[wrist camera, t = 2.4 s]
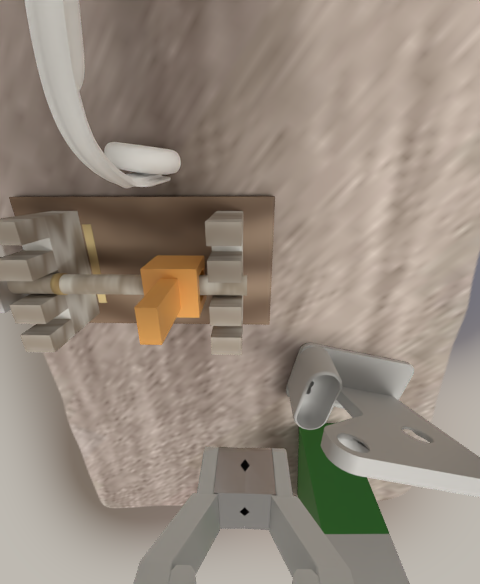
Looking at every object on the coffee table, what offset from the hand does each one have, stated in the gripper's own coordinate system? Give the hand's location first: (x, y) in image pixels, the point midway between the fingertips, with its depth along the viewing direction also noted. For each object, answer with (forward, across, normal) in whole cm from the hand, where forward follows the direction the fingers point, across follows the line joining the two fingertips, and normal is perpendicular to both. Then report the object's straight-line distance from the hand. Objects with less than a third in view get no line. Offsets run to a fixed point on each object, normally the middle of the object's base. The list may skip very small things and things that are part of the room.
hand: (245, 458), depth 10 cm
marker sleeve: (+21, +7, 0) cm, 22 cm away
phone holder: (+26, -15, +18) cm, 35 cm away
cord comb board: (+26, +12, 0) cm, 29 cm away
